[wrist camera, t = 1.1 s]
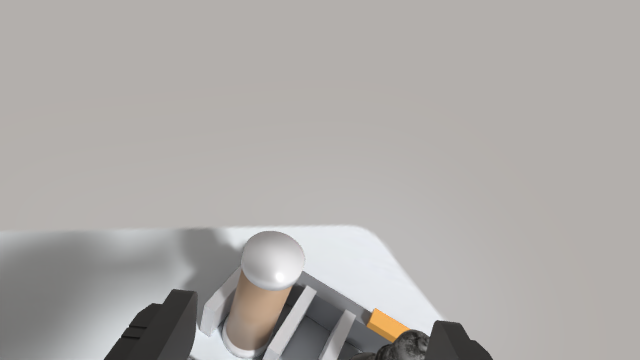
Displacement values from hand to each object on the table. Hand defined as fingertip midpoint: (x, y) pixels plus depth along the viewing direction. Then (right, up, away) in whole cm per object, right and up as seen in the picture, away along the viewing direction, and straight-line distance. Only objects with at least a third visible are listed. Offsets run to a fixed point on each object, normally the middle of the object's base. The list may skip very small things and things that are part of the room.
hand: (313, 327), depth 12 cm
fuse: (-6, -8, +19) cm, 21 cm away
